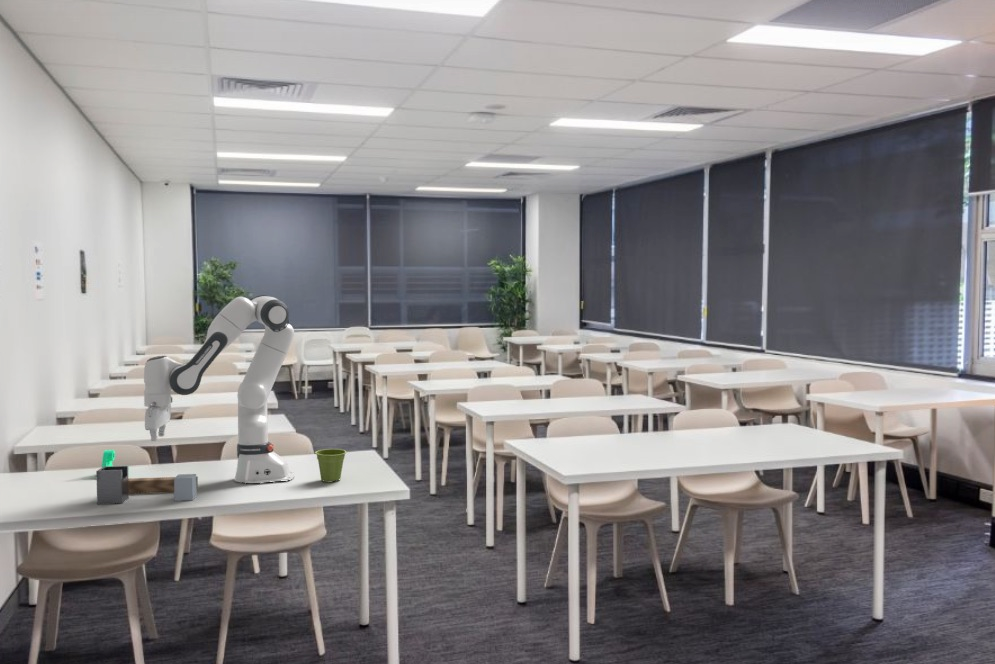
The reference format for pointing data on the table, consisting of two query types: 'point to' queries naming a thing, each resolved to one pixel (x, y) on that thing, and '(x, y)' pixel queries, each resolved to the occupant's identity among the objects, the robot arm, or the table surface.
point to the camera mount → (108, 458)
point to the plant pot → (330, 463)
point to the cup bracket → (112, 484)
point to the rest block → (185, 487)
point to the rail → (153, 485)
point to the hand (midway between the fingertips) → (157, 438)
